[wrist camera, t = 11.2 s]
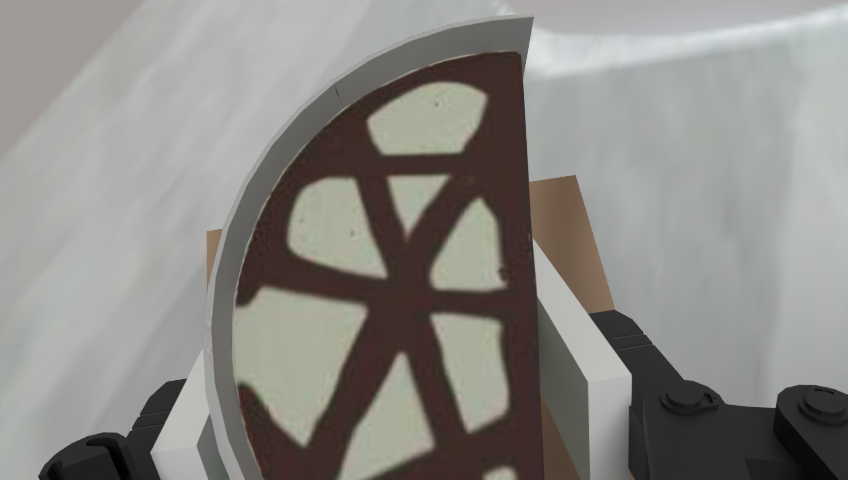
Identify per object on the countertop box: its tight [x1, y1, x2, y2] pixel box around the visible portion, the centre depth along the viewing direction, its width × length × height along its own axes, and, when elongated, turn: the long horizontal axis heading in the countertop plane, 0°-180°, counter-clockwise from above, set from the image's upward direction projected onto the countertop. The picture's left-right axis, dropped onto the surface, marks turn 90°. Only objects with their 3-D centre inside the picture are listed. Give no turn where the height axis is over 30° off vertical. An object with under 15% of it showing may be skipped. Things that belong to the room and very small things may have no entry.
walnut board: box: [207, 175, 635, 480], centre depth 22 cm, size 16×16×2 cm
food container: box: [203, 14, 545, 480], centre depth 14 cm, size 12×6×10 cm, turn 179°
